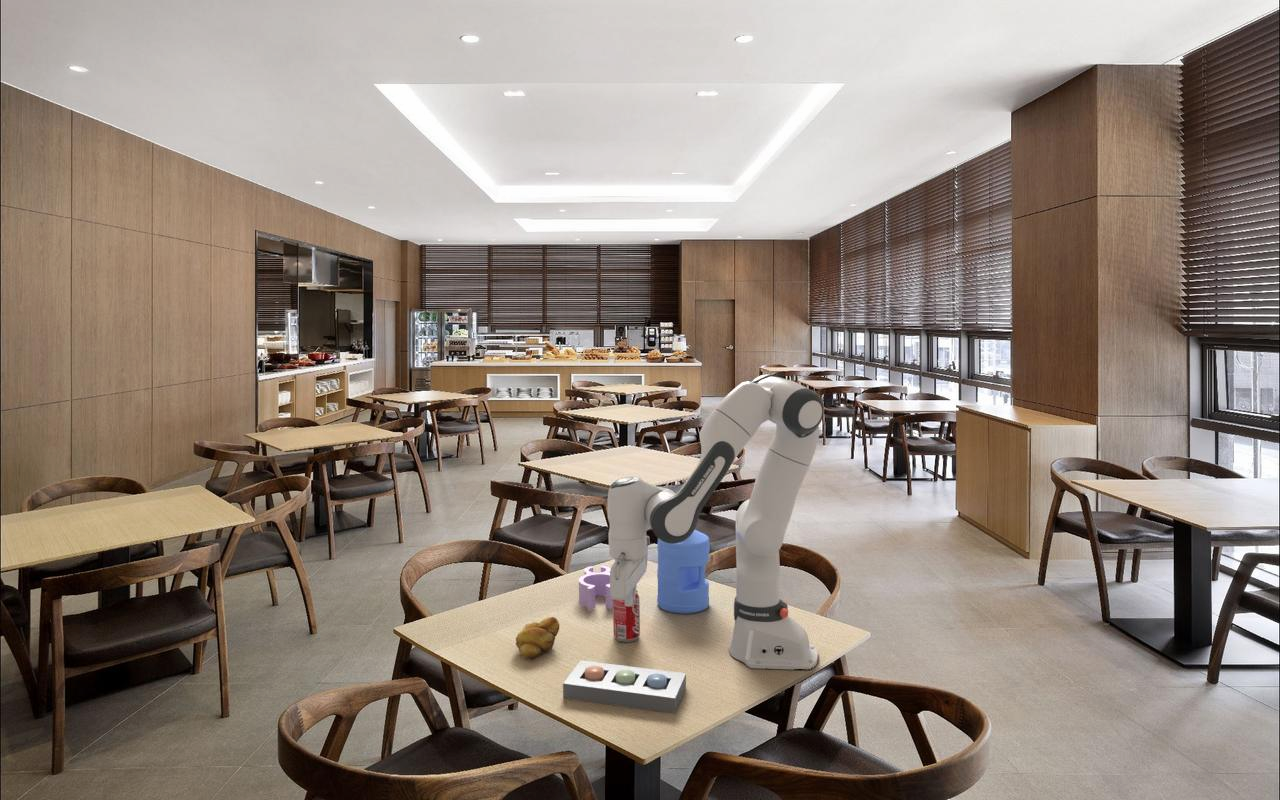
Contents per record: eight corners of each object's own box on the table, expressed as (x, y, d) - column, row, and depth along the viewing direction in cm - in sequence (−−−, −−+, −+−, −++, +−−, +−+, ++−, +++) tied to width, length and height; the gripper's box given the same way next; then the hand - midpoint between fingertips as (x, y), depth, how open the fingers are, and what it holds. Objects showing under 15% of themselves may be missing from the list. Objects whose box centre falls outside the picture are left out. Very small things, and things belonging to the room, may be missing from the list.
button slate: (668, 685, 174) (668, 674, 174) (664, 694, 170) (664, 683, 169) (650, 683, 175) (650, 672, 175) (645, 692, 171) (645, 681, 171)
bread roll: (537, 665, 189) (536, 634, 188) (504, 658, 192) (503, 627, 192) (562, 644, 200) (562, 615, 199) (531, 638, 204) (531, 609, 203)
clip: (577, 587, 243) (577, 566, 242) (616, 586, 244) (616, 565, 243) (579, 611, 223) (579, 589, 222) (622, 609, 224) (621, 587, 224)
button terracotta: (606, 677, 178) (606, 667, 177) (600, 686, 174) (600, 675, 173) (588, 675, 179) (588, 664, 179) (582, 684, 175) (582, 673, 174)
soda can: (636, 644, 200) (636, 597, 199) (610, 642, 202) (610, 595, 200) (642, 633, 207) (642, 587, 206) (616, 631, 209) (616, 585, 207)
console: (685, 687, 177) (685, 673, 177) (674, 713, 165) (675, 698, 165) (580, 674, 184) (580, 660, 183) (563, 698, 172) (563, 683, 172)
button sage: (637, 681, 176) (637, 670, 176) (632, 690, 172) (632, 679, 171) (618, 679, 177) (618, 668, 177) (613, 688, 173) (613, 677, 172)
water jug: (646, 607, 226) (647, 515, 223) (675, 591, 239) (675, 505, 236) (691, 619, 217) (692, 524, 214) (718, 602, 230) (719, 512, 227)
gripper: (629, 562, 165) (631, 622, 167) (651, 535, 185) (653, 589, 187) (601, 560, 167) (604, 620, 168) (626, 534, 187) (628, 588, 188)
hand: (630, 604), depth 178 cm, fingers closed
